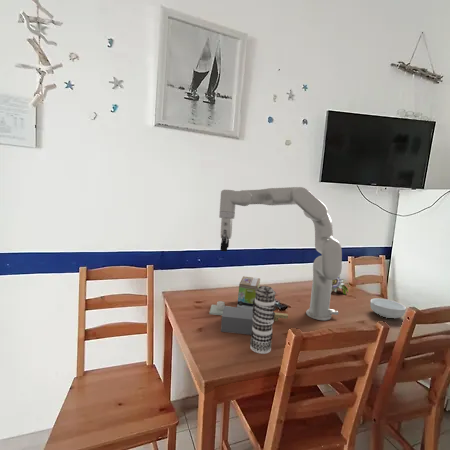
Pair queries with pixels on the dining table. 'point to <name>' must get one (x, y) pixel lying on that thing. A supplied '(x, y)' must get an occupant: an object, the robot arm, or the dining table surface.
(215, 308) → the lid
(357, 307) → the dining table surface
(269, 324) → the decorative candle
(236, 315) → the case
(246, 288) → the tea box
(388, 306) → the cereal bowl
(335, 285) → the passion flower
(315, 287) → the robot arm
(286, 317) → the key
